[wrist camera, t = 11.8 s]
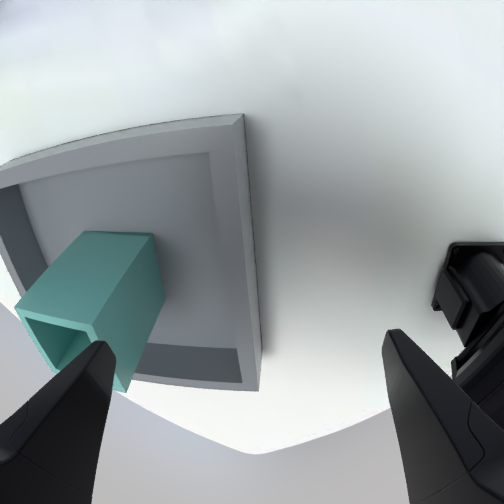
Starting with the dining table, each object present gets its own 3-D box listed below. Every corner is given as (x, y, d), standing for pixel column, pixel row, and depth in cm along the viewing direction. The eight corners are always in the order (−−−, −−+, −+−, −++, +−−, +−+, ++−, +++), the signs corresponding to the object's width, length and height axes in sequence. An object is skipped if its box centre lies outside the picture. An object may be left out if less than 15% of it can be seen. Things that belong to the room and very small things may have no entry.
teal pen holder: (152, 232, 20) (91, 324, 13) (165, 299, 24) (126, 393, 16) (83, 230, 21) (14, 307, 13) (102, 292, 24) (53, 372, 16)
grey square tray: (243, 113, 17) (232, 124, 13) (262, 350, 27) (258, 391, 23) (10, 160, 19) (-26, 180, 15) (80, 335, 29) (63, 365, 25)
